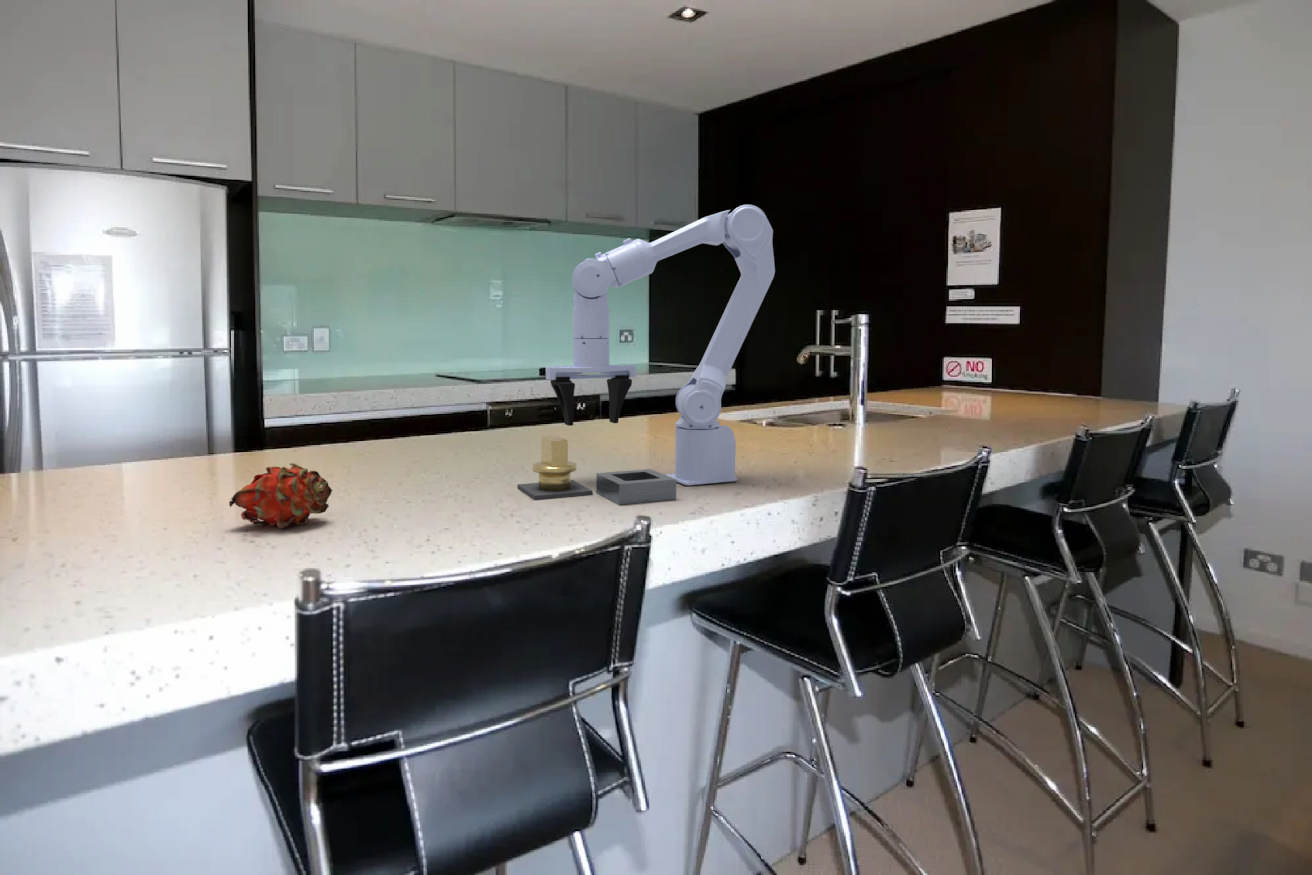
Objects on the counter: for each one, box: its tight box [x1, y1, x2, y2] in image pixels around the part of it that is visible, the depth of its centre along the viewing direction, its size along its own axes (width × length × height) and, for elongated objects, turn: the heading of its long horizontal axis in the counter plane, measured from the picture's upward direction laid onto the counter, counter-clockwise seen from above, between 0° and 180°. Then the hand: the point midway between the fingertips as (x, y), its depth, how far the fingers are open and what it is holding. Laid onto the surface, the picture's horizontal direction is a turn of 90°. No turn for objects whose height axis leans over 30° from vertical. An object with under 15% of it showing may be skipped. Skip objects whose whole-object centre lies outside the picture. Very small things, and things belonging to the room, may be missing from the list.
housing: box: [595, 468, 677, 506], centre depth 125 cm, size 9×9×3 cm
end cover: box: [532, 435, 577, 491], centre depth 128 cm, size 7×7×8 cm
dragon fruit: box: [228, 462, 333, 530], centre depth 107 cm, size 8×8×12 cm
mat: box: [517, 479, 594, 501], centre depth 129 cm, size 9×9×1 cm
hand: (591, 423), depth 135 cm, fingers open, 7 cm apart
